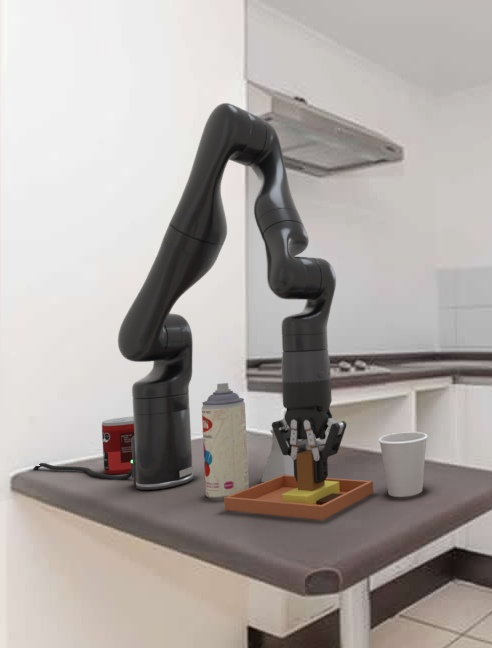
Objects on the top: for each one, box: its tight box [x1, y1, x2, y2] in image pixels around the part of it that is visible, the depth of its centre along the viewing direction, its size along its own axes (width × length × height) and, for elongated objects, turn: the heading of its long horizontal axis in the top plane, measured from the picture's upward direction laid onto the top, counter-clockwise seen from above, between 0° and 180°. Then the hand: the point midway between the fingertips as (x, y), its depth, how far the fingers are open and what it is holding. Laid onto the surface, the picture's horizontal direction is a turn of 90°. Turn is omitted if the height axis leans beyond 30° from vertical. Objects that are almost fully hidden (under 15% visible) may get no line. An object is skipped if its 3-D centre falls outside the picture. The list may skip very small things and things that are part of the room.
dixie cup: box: [378, 431, 429, 498], centre depth 96 cm, size 8×8×10 cm
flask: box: [260, 428, 294, 483], centre depth 107 cm, size 7×7×10 cm
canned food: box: [101, 416, 134, 475], centre depth 120 cm, size 8×8×11 cm
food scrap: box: [316, 493, 343, 505], centre depth 90 cm, size 4×4×1 cm
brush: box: [282, 448, 340, 505], centre depth 92 cm, size 5×8×8 cm, turn 161°
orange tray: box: [223, 475, 374, 521], centre depth 92 cm, size 19×13×2 cm
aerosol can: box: [201, 382, 250, 499], centre depth 99 cm, size 7×7×20 cm
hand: (311, 480), depth 92 cm, fingers closed on brush, 3 cm apart
